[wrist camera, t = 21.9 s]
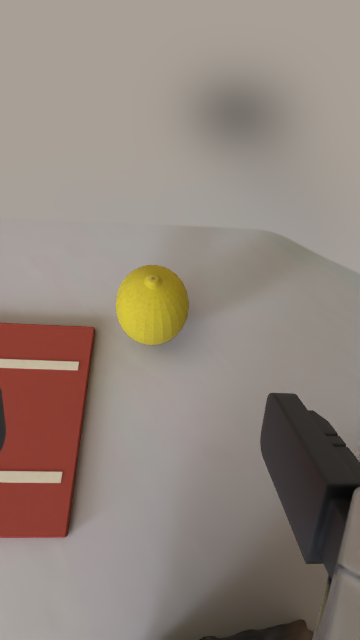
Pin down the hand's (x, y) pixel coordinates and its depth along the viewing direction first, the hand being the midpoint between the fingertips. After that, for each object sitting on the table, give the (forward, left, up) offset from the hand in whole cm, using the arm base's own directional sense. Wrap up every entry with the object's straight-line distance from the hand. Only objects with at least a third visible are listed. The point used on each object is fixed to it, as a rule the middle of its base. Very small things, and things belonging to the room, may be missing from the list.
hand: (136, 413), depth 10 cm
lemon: (0, -10, -16) cm, 19 cm away
